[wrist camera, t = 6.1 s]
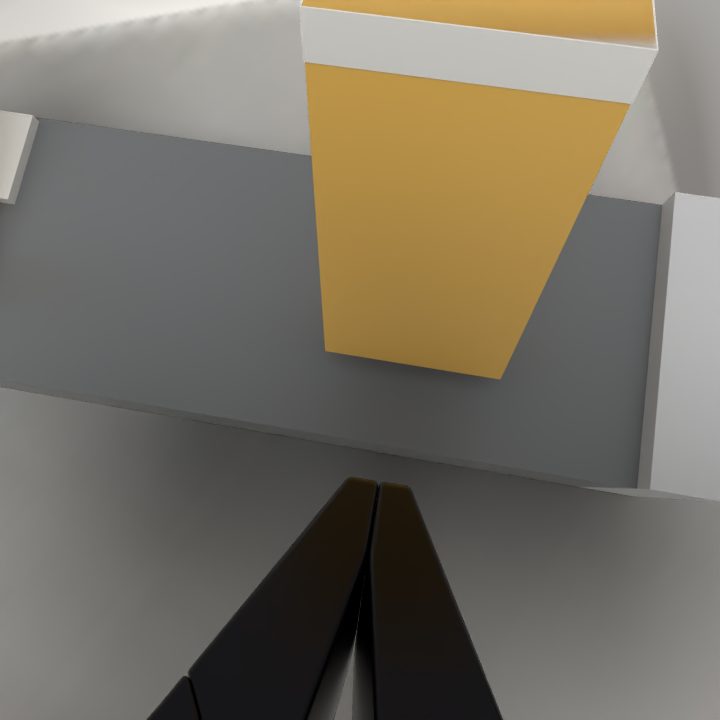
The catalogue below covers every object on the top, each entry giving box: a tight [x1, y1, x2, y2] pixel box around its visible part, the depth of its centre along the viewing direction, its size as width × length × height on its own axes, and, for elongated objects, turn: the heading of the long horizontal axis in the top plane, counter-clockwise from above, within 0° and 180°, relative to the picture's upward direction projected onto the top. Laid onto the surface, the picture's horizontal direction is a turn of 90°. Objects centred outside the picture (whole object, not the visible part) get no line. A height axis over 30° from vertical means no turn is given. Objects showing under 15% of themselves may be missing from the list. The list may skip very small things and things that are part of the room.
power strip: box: [0, 111, 720, 502], centre depth 17 cm, size 7×26×5 cm, turn 80°
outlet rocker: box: [299, 0, 658, 379], centre depth 11 cm, size 2×4×8 cm, turn 80°
